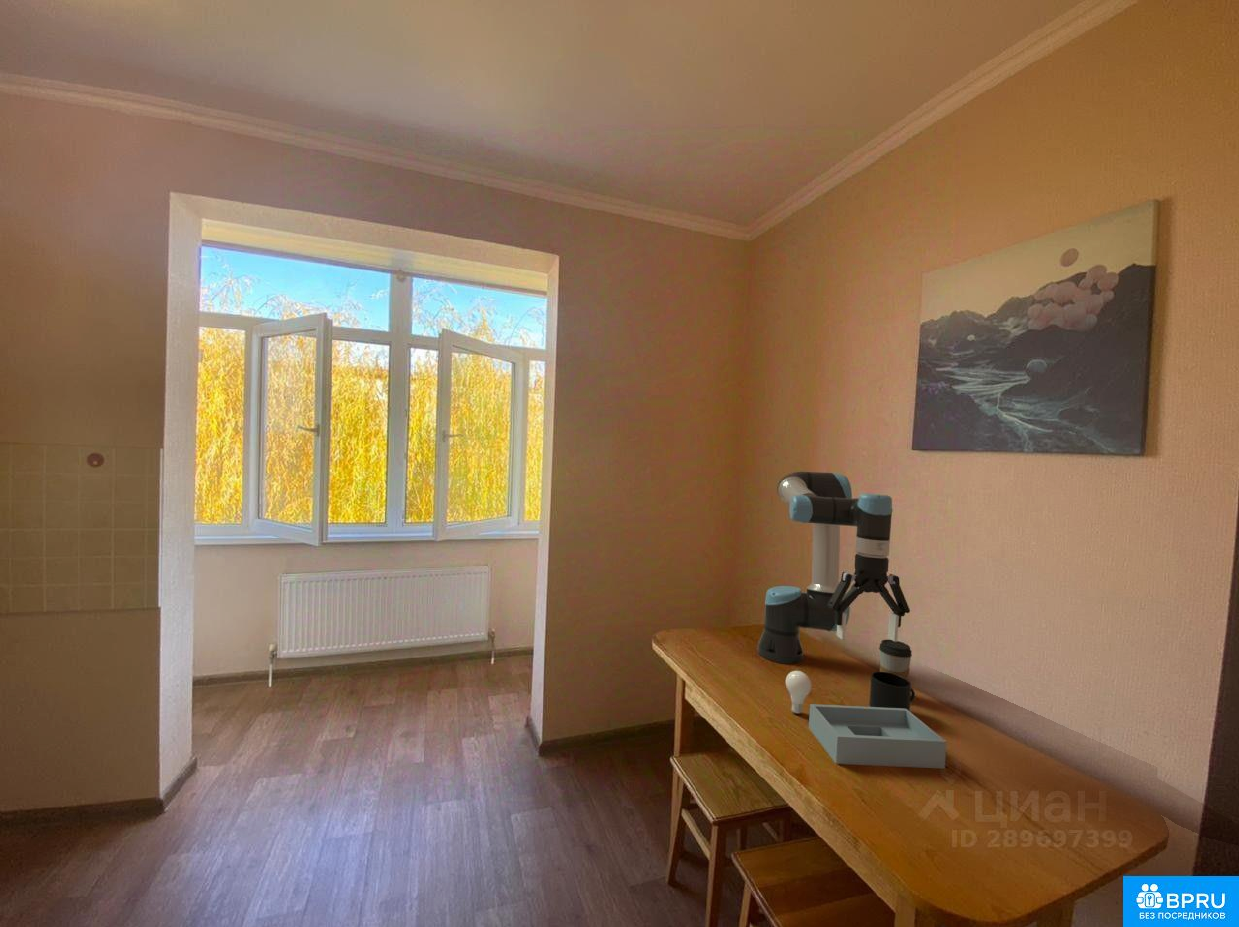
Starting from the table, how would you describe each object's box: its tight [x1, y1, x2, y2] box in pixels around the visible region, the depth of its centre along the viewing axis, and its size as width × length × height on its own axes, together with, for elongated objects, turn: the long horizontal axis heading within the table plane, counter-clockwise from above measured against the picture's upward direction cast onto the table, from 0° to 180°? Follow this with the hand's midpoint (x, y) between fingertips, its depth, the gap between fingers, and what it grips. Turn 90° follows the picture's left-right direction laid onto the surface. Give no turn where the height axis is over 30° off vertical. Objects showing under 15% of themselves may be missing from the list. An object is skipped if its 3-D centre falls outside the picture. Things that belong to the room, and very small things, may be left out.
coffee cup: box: [878, 639, 912, 681], centre depth 138 cm, size 8×8×15 cm
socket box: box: [808, 703, 947, 770], centre depth 111 cm, size 14×24×6 cm, turn 91°
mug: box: [869, 671, 916, 712], centre depth 128 cm, size 9×12×9 cm
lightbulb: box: [785, 670, 812, 715], centre depth 125 cm, size 6×6×11 cm
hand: (866, 638), depth 119 cm, fingers open, 13 cm apart
